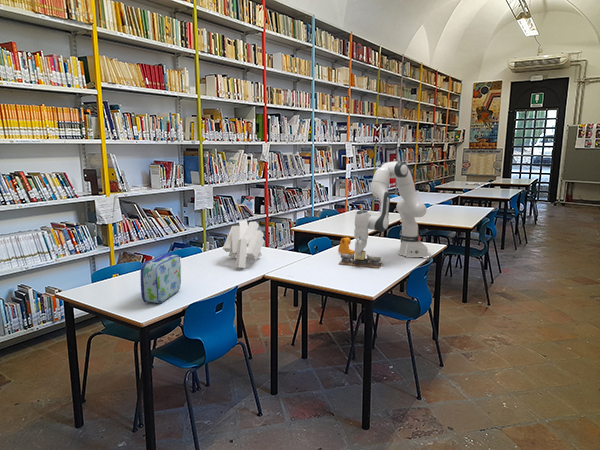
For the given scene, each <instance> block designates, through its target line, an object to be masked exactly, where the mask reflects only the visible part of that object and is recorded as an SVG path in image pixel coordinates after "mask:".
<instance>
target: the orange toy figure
mask: <svg viewBox="0 0 600 450" xmlns="http://www.w3.org/2000/svg"><path fill="white" fill-rule="evenodd" d="M351 241H352V240H351V238H350V237H348V236H347V237H341V239H340V242H339V246H338V249H337V250H338V251H337V252H338V253H341V254H350V255H353V254H354V255H355V249H354V250H353V249H350V245H351ZM341 254H340V255H341Z"/></svg>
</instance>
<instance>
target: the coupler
mask: <svg viewBox="0 0 600 450" xmlns="http://www.w3.org/2000/svg"><path fill="white" fill-rule="evenodd" d="M355 259H360V260H364V259H366V250H363V251H361V257H360V258H359V257H358V252H355V254H354V260H355Z"/></svg>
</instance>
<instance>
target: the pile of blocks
mask: <svg viewBox="0 0 600 450" xmlns="http://www.w3.org/2000/svg"><path fill="white" fill-rule="evenodd" d="M238 224H239V225H231V228H230V230H229V233H228V235H227V238H226V239H225V242H224V244H223V246H222V250H223V251H225V252H226V253H229V254H228V256H229V257H232V258H235V260H236V261H235V263H236V264H235V268H236V269H241V270H242V269H245V268H246V262H247V261H246V259H247V260H248V262H253V261H254V262H255V261H257V259H258V258H260V257H262V256H263V255H262V253H261V250H262V248H263V245H264V243H265V240H264V238H263V237H264V232H263V231H262V230H261V229H259V226H260V224H259V223H258V222H257V221H249V223H248V220H247V219H245V220H240V221H238ZM258 229H259V230H258Z"/></svg>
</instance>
